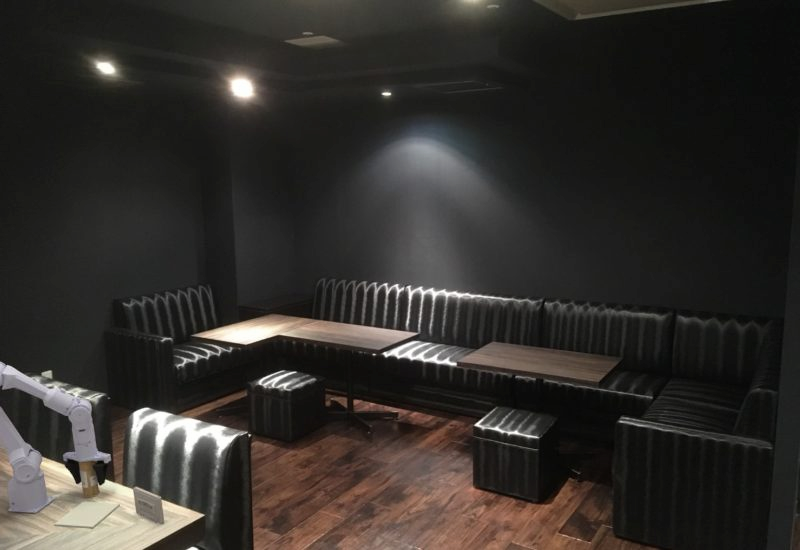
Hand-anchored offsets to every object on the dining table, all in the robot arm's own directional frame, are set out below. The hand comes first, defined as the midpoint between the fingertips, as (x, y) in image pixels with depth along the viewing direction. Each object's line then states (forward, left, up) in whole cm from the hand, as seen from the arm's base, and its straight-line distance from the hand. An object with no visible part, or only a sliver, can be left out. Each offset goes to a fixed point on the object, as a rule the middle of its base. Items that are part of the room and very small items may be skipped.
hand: (90, 483), depth 197 cm
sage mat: (+7, -11, -3) cm, 14 cm away
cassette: (+26, -10, -4) cm, 28 cm away
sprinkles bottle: (0, 0, -4) cm, 4 cm away
